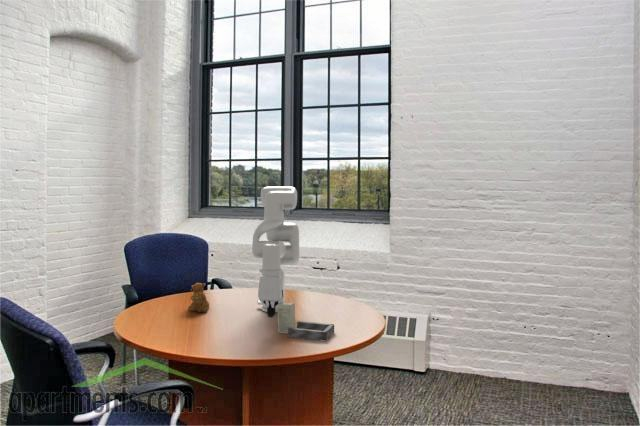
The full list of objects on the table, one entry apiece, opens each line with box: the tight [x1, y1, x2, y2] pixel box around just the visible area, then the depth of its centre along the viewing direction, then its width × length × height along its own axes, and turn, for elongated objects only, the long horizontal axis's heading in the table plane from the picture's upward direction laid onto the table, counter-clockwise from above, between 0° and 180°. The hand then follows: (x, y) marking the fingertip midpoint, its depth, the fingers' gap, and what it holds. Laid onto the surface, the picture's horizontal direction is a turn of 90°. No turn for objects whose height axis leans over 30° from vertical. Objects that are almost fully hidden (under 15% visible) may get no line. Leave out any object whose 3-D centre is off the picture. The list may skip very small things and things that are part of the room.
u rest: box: [287, 320, 335, 342], centre depth 213 cm, size 16×12×4 cm
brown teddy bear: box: [187, 282, 210, 313], centre depth 250 cm, size 10×14×13 cm
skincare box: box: [277, 301, 296, 335], centre depth 216 cm, size 6×4×12 cm
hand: (271, 316), depth 218 cm, fingers closed
